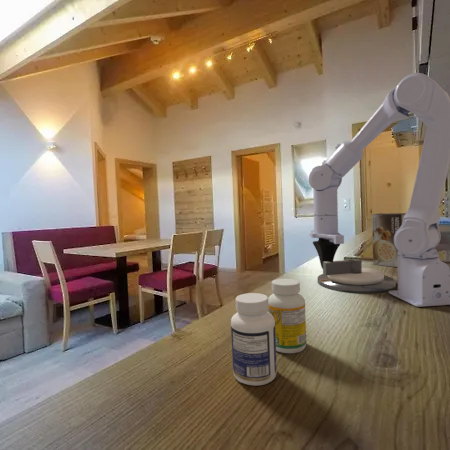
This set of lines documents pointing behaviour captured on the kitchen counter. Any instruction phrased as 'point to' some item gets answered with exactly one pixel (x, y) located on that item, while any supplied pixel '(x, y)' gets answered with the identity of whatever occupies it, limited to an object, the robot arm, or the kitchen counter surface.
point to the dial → (351, 272)
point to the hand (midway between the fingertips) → (326, 268)
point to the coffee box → (385, 238)
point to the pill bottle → (253, 340)
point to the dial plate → (374, 288)
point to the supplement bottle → (288, 315)
